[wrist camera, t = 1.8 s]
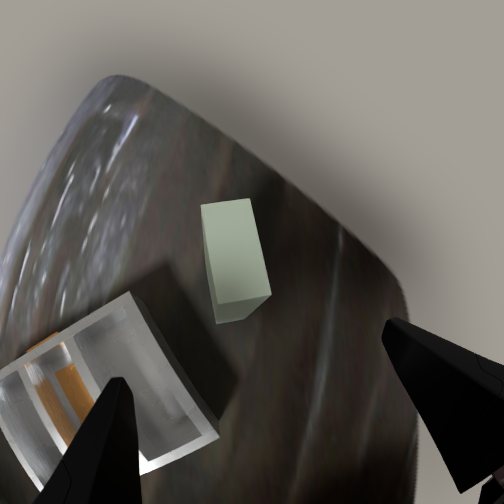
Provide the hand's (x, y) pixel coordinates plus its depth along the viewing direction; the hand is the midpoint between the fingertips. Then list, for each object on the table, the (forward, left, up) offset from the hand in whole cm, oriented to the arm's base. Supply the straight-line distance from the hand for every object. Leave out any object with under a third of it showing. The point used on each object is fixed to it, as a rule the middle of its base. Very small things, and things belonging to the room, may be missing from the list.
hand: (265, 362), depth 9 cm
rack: (+1, +11, -11) cm, 16 cm away
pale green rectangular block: (+4, -1, -11) cm, 12 cm away
